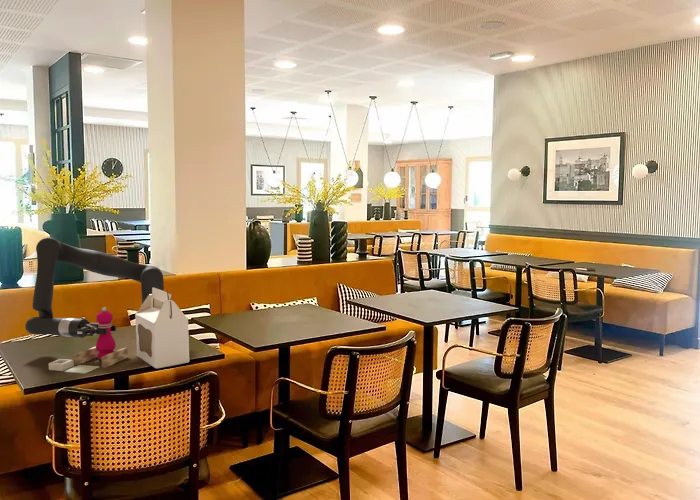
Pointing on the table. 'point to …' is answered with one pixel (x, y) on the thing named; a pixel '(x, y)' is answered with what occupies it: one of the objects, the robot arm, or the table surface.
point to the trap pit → (61, 364)
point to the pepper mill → (105, 341)
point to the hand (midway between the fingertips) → (110, 330)
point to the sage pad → (81, 369)
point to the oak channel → (106, 359)
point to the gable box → (161, 331)
